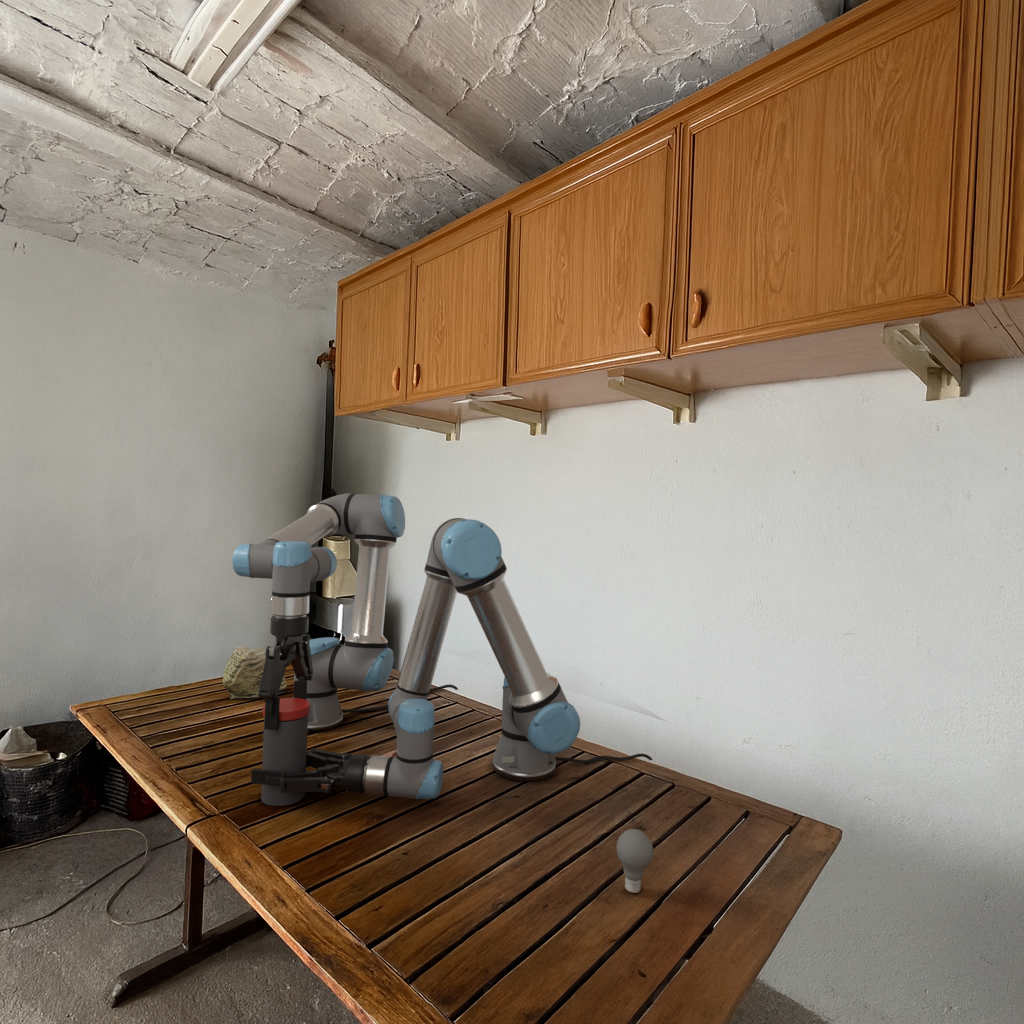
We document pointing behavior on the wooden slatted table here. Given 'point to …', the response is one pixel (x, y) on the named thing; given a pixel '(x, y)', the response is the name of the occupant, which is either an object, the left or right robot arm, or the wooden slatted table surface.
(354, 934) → the wooden slatted table surface
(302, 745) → the jar
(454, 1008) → the wooden slatted table surface
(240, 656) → the fossil
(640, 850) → the light bulb
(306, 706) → the lid
